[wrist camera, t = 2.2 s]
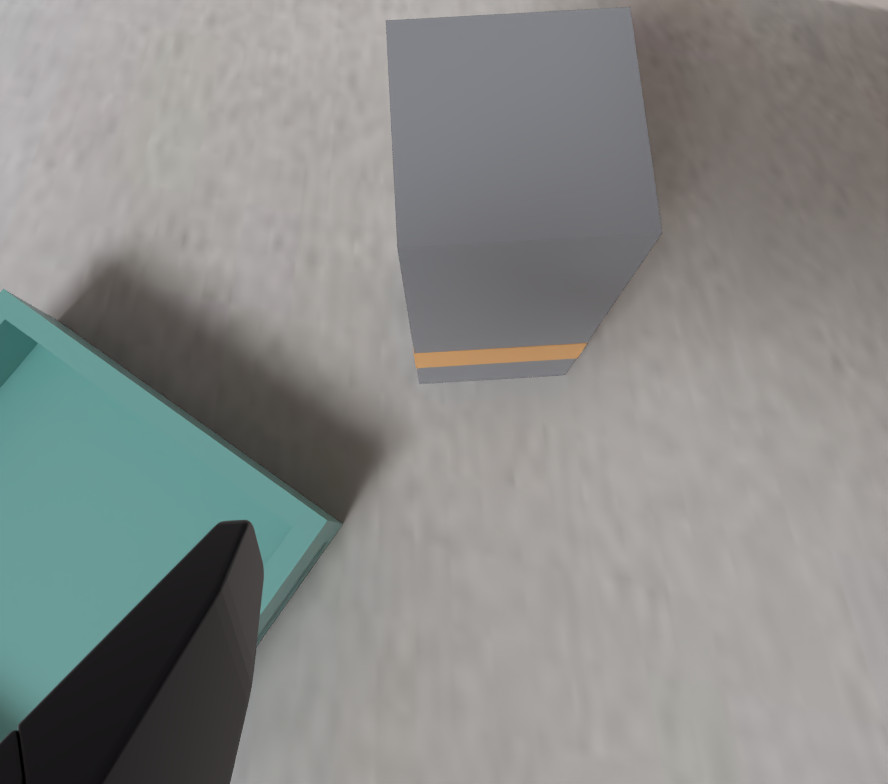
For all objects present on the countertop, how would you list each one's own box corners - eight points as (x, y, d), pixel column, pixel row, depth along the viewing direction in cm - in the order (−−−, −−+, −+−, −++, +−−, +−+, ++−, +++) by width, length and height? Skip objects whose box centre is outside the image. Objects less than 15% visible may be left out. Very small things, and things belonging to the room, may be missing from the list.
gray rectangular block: (565, 375, 24) (663, 233, 13) (418, 384, 24) (396, 249, 13) (551, 239, 25) (630, 6, 14) (411, 248, 25) (384, 20, 14)
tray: (342, 523, 23) (327, 520, 20) (93, 876, 20) (35, 931, 18) (56, 320, 24) (3, 288, 21) (-204, 627, 22) (-303, 639, 19)
